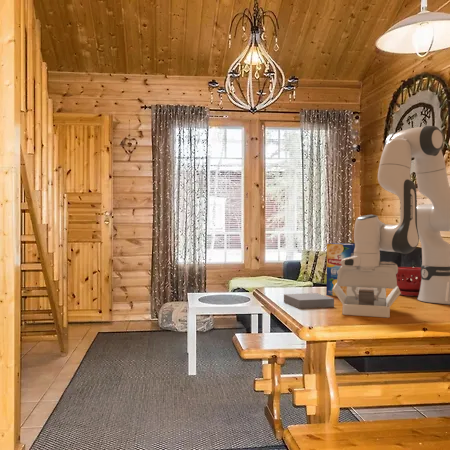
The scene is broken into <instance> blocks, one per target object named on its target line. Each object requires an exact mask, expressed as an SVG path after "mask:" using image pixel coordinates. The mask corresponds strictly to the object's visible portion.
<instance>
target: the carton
mask: <svg viewBox="0 0 450 450" xmlns="http://www.w3.org/2000/svg"><path fill="white" fill-rule="evenodd" d="M359 288H370V287H356V290H355V292H356V293H357V294H359ZM333 291H334V292H335V294H336V295H337V296H336V297H337V298H338V300H339V301H340V303H341V304H342V315H344V316H345V315H346V316H358V317H361V316H362V317H373V318H374V317H375V318H390V317H391V315H390V314H391V313H390V312H391V306H392V305H393V304H394V303H395V302H396V300H397V299H398V297H399V296H400V294H401V292H400V290H399V288H398V286H397V287H396V288H394V289H392V290H391V291H390V293H389V294H388V295H387V288H382V291H381V293H380V294H379V296H378V301H374V306H372V305H359V300H355V295H354V293H353V291H352V287H347V296H346V295H345V293H344V292H343V290H342V289H341V287H340V286H339V285H338V284H337V283H336V284H335V286H334V288H333ZM377 293H378V291H377V288H374V295H376V294H377Z"/></svg>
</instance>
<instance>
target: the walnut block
mask: <svg viewBox="0 0 450 450" xmlns="http://www.w3.org/2000/svg"><path fill="white" fill-rule="evenodd" d="M359 305H372V306H374V288H359Z"/></svg>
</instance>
